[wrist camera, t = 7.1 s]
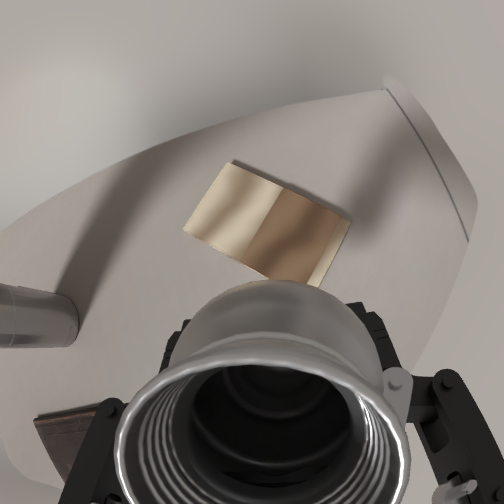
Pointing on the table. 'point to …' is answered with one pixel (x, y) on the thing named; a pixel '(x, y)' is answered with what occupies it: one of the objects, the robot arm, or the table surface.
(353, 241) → the table surface
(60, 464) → the hardcover book
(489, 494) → the robot arm
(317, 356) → the plastic bottle
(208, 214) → the board
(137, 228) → the table surface
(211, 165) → the table surface
